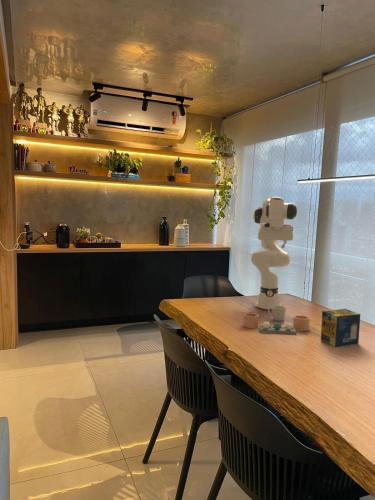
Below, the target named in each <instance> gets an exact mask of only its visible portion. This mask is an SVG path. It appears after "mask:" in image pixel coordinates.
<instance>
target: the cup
mask: <svg viewBox="0 0 375 500" xmlns="http://www.w3.org/2000/svg"><path fill="white" fill-rule="evenodd" d="M286 310H287V308H286V307H285V306H283V305H281V306H273V307H272V308H269V309H267V314H268V315H269V316H271V317H272V319H273V321H276V322H282V321H284V320H285V317H286ZM270 311H271V313H270Z"/></svg>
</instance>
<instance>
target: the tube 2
mask: <svg viewBox="0 0 375 500" xmlns="http://www.w3.org/2000/svg"><path fill="white" fill-rule="evenodd" d="M292 321H293V322H292V323H293V324H292V327H294V328H295V330H296V331H300V332H308V331H310V323H311V322H310V321H311V317H309V316H307V315H302V314H297V315H293V320H292Z"/></svg>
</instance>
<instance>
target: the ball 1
mask: <svg viewBox="0 0 375 500" xmlns="http://www.w3.org/2000/svg"><path fill="white" fill-rule="evenodd" d="M262 326H263V328H265V329H268V328H269V327H270V326H271V324H270V322H269V321H264V322H263V323H262Z"/></svg>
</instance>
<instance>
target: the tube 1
mask: <svg viewBox="0 0 375 500" xmlns="http://www.w3.org/2000/svg"><path fill="white" fill-rule="evenodd" d="M259 323H260V314H258V313H255V312H245V313H243V324H242V325H243V326H242V327H244V328H247V329H257V328H258V329H259V326H260V325H259Z"/></svg>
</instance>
